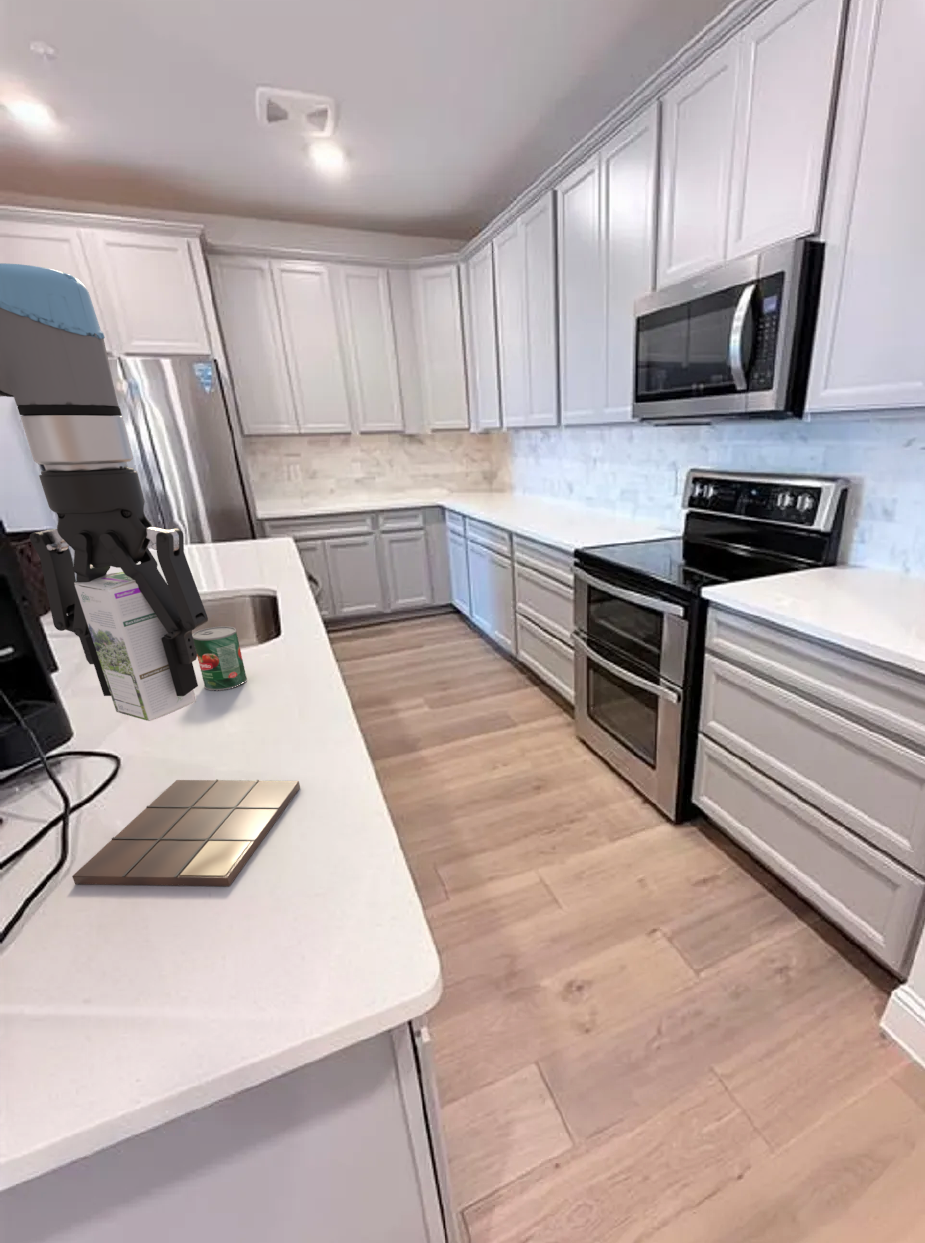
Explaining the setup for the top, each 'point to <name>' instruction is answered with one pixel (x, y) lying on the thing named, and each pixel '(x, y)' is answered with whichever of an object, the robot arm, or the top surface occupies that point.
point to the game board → (191, 835)
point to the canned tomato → (219, 657)
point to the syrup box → (130, 647)
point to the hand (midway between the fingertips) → (151, 690)
